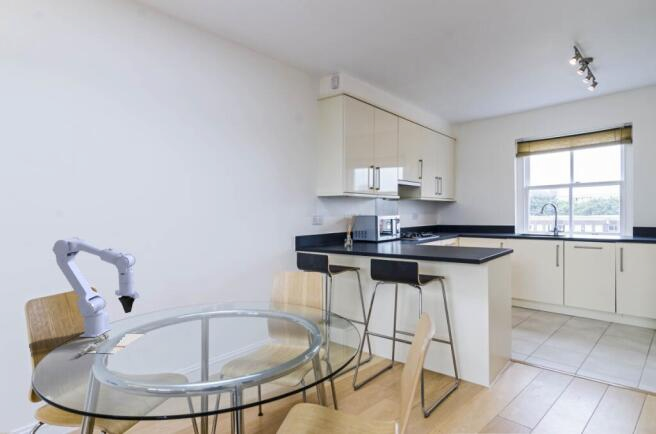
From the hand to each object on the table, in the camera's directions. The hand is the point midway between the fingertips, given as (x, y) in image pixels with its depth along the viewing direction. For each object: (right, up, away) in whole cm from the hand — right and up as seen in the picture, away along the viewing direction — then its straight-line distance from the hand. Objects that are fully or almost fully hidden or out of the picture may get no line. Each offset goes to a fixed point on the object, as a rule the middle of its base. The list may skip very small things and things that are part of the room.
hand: (127, 312), depth 154 cm
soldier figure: (-4, -11, -16) cm, 20 cm away
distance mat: (+1, -10, -9) cm, 14 cm away
